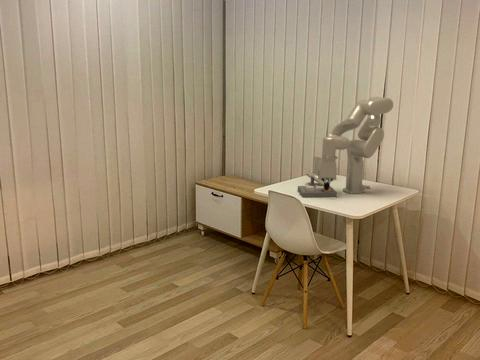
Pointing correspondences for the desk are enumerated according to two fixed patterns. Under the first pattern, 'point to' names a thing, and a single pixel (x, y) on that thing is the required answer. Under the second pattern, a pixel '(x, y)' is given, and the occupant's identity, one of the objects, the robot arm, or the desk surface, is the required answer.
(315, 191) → the dark grey tray
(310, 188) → the grey button
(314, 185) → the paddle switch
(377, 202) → the desk surface
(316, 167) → the circuit breaker
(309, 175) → the pale slanted lever
